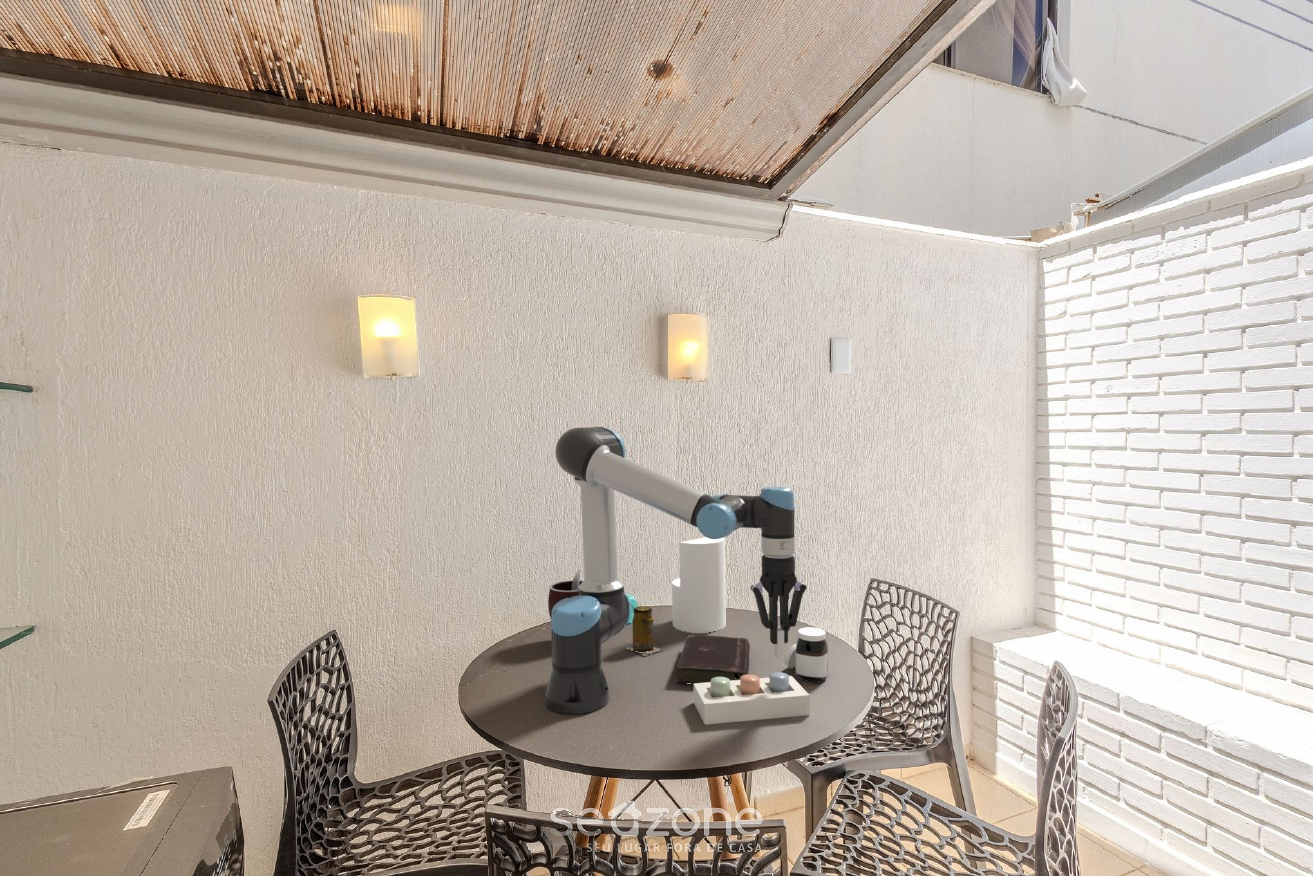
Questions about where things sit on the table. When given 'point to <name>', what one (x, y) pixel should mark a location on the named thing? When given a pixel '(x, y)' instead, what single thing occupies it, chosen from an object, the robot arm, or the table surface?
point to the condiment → (642, 630)
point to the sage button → (720, 687)
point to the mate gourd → (563, 591)
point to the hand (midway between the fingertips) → (779, 657)
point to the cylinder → (700, 587)
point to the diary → (713, 658)
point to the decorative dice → (633, 604)
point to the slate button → (779, 682)
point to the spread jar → (809, 655)
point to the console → (751, 703)
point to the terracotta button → (749, 684)
